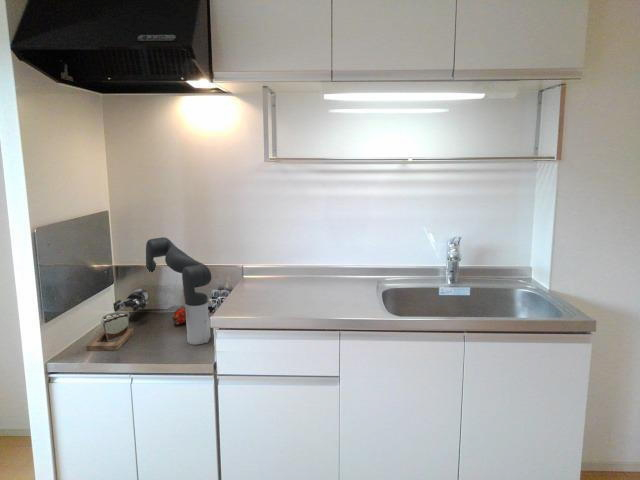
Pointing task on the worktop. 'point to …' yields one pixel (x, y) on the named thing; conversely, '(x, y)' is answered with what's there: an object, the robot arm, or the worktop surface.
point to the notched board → (99, 345)
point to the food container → (115, 324)
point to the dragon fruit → (180, 316)
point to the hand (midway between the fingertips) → (124, 309)
